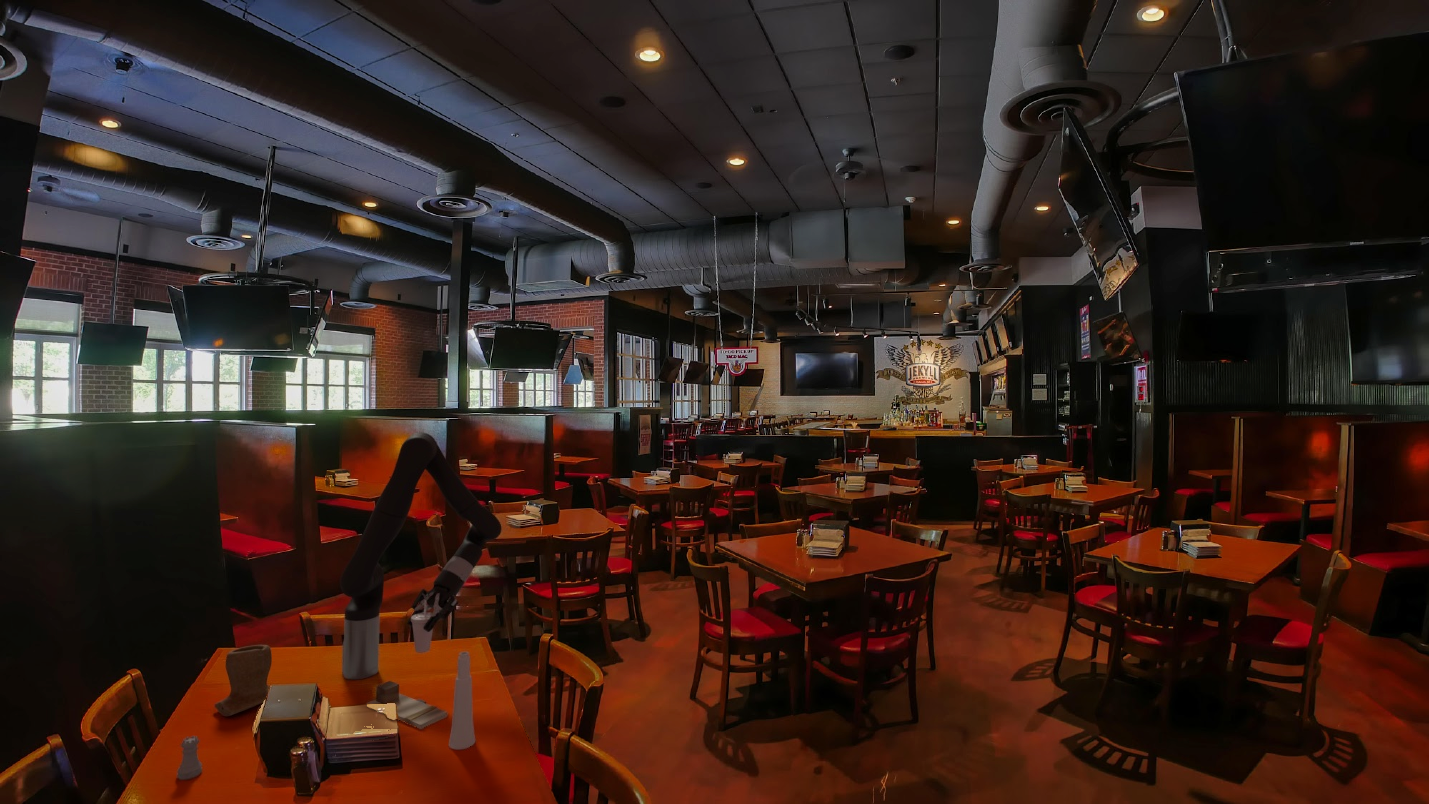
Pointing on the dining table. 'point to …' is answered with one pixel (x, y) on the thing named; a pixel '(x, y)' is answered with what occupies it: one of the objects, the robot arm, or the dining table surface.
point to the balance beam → (408, 706)
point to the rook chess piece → (189, 759)
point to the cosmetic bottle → (462, 707)
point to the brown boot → (246, 678)
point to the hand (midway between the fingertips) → (417, 627)
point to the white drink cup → (421, 631)
